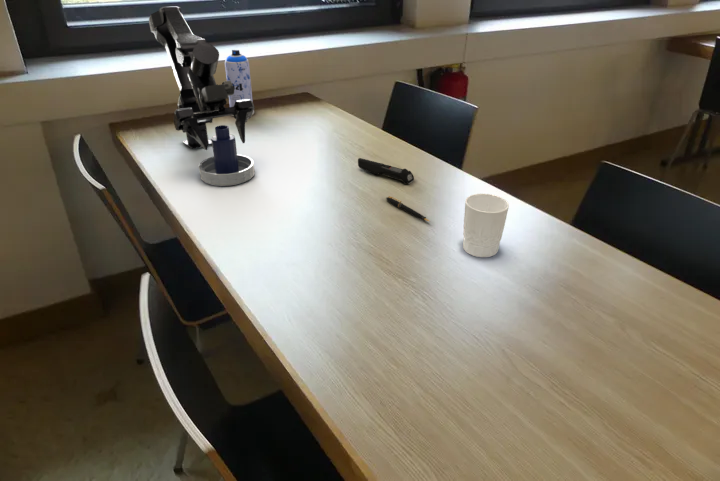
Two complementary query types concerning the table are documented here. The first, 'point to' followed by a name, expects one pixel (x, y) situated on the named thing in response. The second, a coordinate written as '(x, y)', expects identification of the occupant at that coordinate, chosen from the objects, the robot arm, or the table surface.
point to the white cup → (484, 224)
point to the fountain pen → (405, 208)
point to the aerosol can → (238, 77)
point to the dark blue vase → (224, 151)
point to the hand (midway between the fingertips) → (225, 145)
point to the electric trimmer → (386, 170)
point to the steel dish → (229, 179)
